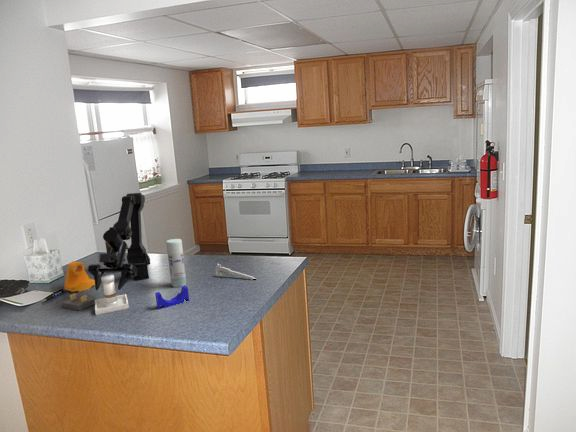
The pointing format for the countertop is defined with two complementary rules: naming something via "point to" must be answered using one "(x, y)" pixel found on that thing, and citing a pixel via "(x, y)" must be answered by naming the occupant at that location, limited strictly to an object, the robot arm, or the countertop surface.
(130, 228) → the robot arm
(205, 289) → the countertop surface
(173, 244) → the spray paint can
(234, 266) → the countertop surface
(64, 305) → the fuse block
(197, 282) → the countertop surface
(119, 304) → the tray
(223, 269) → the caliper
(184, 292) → the cable clip
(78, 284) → the bracket
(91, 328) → the countertop surface
